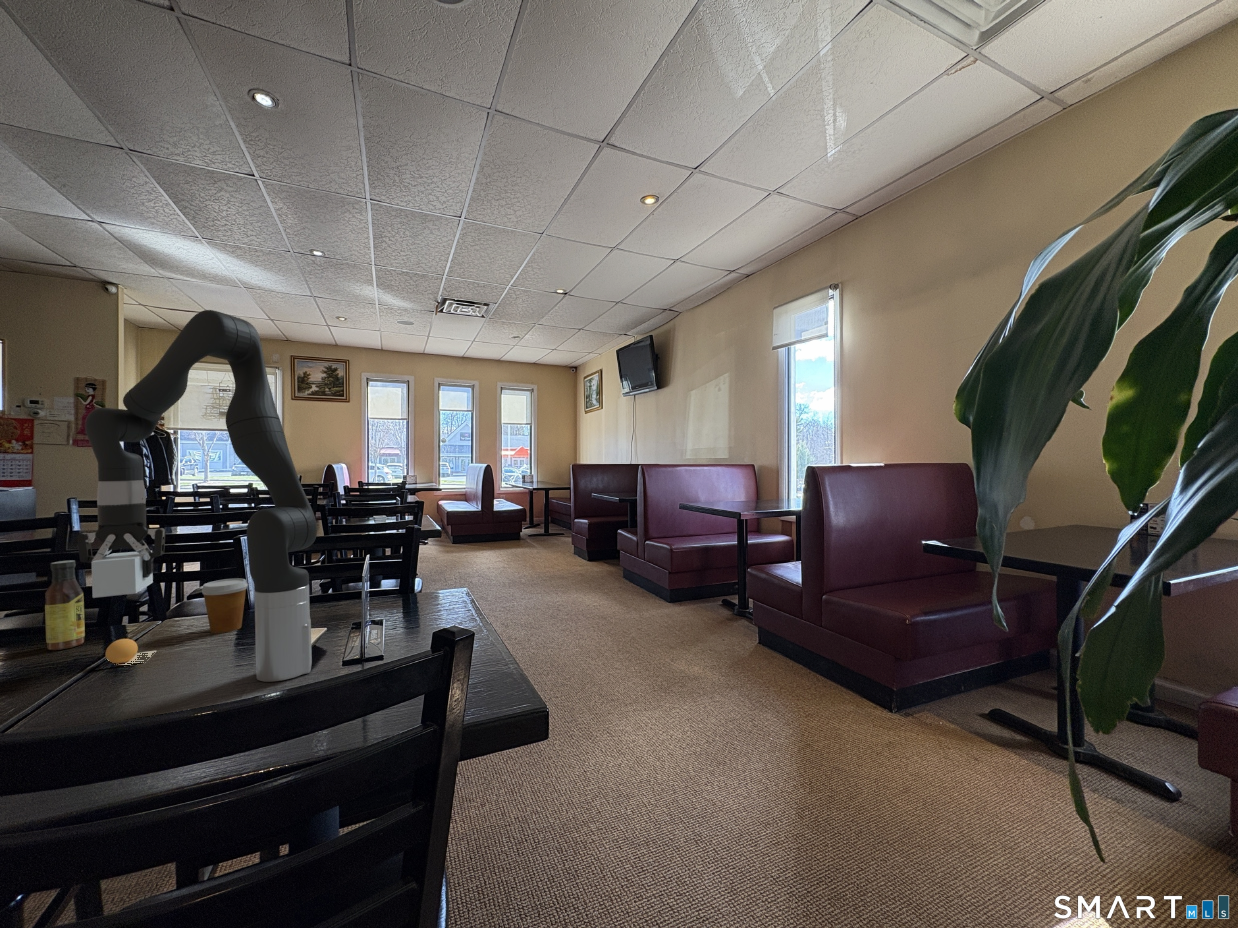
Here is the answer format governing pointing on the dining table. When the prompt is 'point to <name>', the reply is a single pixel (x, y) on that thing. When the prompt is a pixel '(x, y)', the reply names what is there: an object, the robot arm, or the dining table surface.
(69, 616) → the sauce bottle
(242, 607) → the disposable coffee cup
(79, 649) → the dining table surface
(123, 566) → the white angular block
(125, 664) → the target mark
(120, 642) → the brown egg
